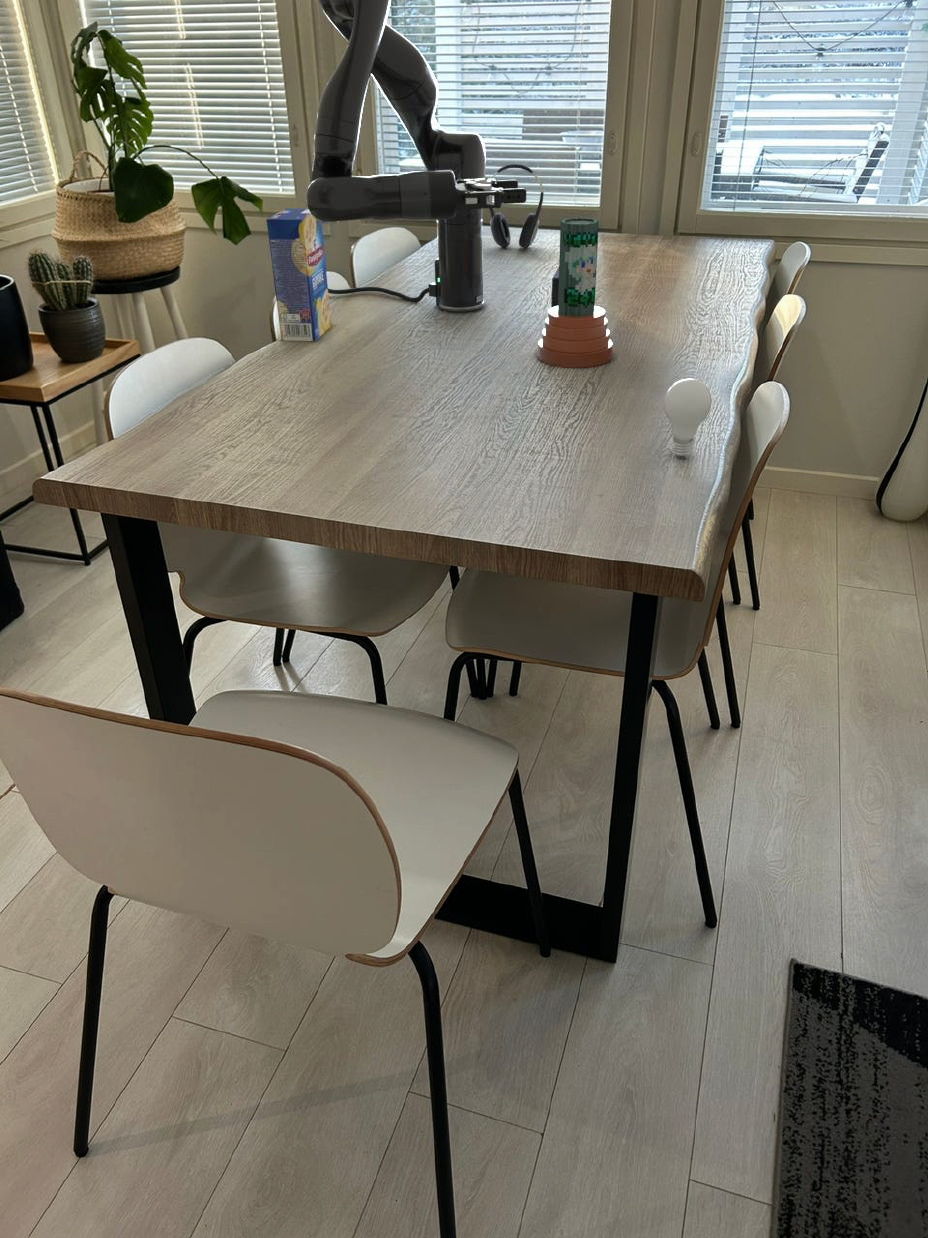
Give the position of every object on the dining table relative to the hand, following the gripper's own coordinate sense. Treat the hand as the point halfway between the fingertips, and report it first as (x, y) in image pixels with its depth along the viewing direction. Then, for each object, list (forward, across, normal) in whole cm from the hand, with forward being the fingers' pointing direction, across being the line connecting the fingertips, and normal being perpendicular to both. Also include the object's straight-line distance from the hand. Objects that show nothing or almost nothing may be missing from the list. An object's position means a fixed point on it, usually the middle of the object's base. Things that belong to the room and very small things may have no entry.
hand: (521, 190), depth 164 cm
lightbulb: (+14, -53, +27) cm, 61 cm away
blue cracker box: (-40, +19, +27) cm, 52 cm away
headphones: (+13, +88, +28) cm, 93 cm away
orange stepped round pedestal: (+9, -5, +27) cm, 29 cm away
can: (+9, -5, +20) cm, 22 cm away
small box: (+12, +13, +28) cm, 33 cm away
